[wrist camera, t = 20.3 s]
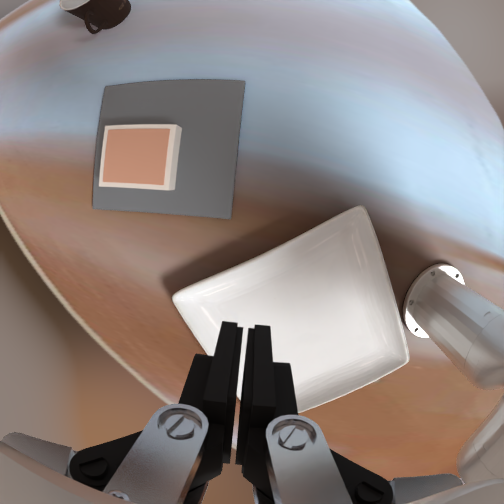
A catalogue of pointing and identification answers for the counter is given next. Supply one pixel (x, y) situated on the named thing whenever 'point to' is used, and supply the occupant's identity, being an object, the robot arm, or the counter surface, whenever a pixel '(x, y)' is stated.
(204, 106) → the mat
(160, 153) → the tile
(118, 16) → the coffee mug
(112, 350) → the counter surface
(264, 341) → the robot arm
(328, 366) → the square plate
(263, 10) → the counter surface
